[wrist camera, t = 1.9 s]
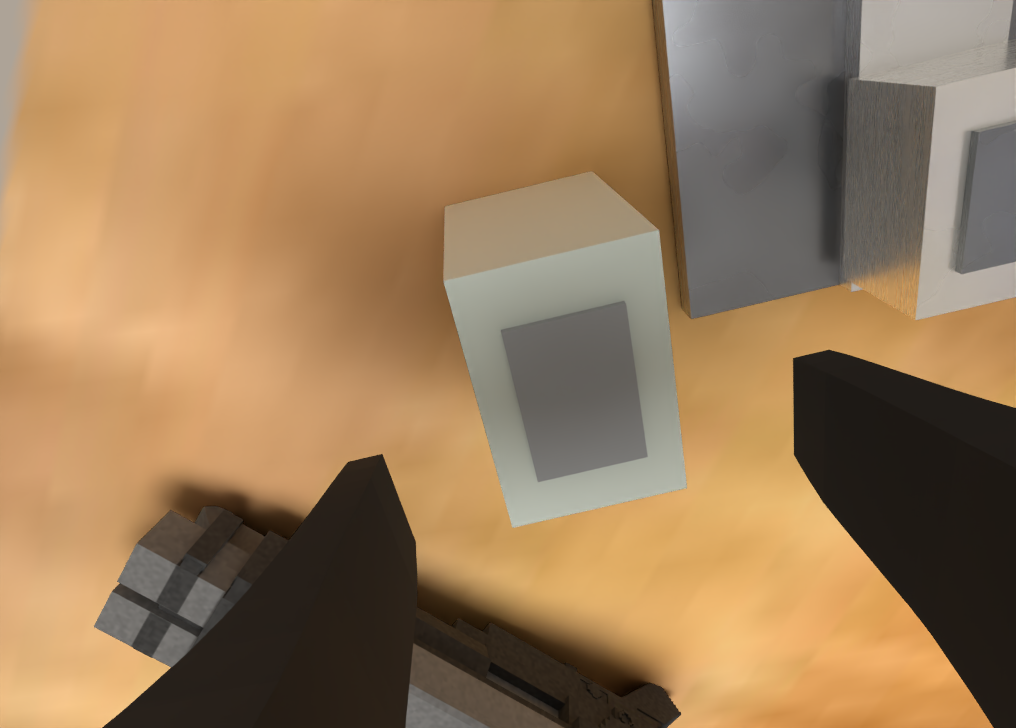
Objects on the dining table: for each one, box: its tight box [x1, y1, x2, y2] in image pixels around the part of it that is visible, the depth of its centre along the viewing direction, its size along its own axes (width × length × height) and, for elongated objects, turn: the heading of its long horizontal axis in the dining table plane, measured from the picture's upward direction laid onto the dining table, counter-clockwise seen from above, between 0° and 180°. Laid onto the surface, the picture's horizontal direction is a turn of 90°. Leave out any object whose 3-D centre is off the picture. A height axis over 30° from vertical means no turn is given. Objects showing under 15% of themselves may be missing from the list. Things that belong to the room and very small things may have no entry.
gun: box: [94, 506, 681, 728], centre depth 22 cm, size 4×20×10 cm, turn 57°
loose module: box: [443, 171, 687, 528], centre depth 15 cm, size 4×6×6 cm, turn 12°
